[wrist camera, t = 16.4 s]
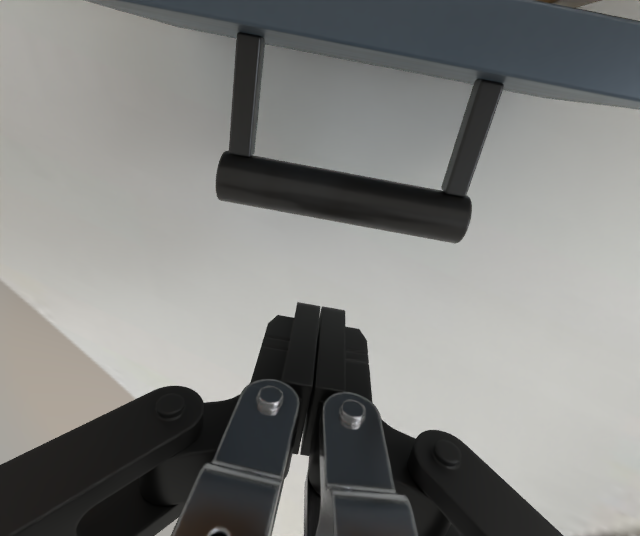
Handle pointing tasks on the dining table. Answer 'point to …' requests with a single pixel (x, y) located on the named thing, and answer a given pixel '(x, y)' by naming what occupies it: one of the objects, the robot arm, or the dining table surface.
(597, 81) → the drawer
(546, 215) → the dining table surface
